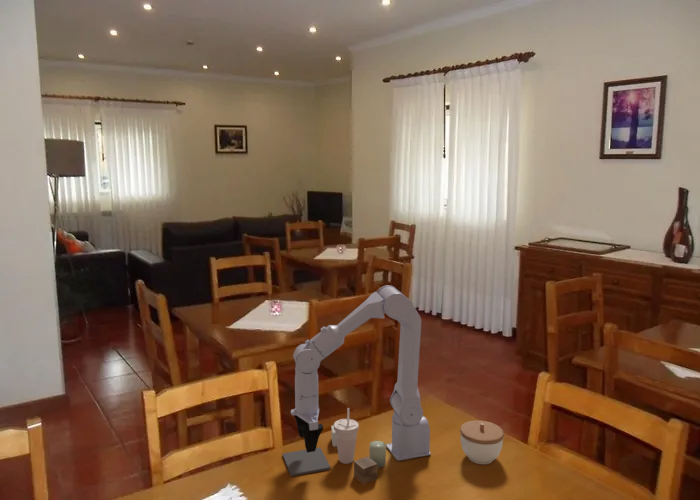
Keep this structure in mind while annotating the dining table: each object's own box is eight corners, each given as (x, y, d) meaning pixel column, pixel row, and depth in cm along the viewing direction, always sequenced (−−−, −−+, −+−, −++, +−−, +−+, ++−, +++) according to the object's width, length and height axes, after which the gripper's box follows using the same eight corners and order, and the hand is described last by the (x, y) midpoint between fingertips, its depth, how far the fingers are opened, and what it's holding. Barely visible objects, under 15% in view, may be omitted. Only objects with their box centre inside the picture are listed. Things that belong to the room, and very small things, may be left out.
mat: (320, 449, 147) (320, 447, 147) (330, 469, 138) (330, 467, 138) (282, 455, 144) (282, 453, 144) (290, 476, 135) (290, 474, 135)
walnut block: (367, 471, 137) (367, 456, 137) (377, 479, 134) (377, 463, 133) (353, 476, 135) (353, 461, 135) (363, 484, 132) (363, 469, 131)
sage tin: (381, 457, 143) (382, 439, 142) (387, 466, 140) (388, 447, 139) (367, 460, 142) (367, 442, 141) (372, 468, 138) (372, 450, 137)
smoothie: (356, 467, 139) (356, 415, 136) (331, 465, 140) (330, 412, 138) (360, 454, 145) (361, 403, 142) (336, 451, 146) (336, 401, 144)
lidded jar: (487, 444, 150) (489, 411, 148) (510, 465, 140) (512, 430, 138) (451, 451, 147) (453, 417, 145) (472, 472, 137) (474, 437, 135)
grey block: (345, 438, 153) (345, 424, 153) (347, 445, 149) (347, 431, 149) (331, 439, 153) (331, 425, 152) (333, 446, 149) (332, 432, 148)
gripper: (285, 383, 144) (285, 432, 146) (297, 407, 130) (298, 461, 133) (311, 380, 146) (312, 428, 148) (326, 403, 132) (326, 456, 135)
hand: (307, 443), depth 141 cm, fingers open, 7 cm apart
